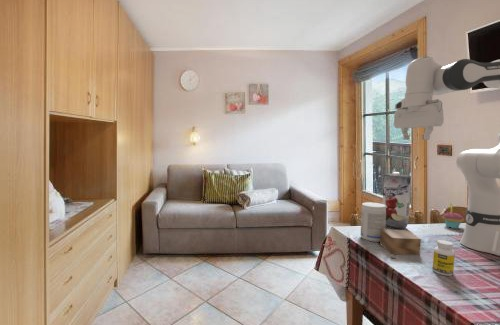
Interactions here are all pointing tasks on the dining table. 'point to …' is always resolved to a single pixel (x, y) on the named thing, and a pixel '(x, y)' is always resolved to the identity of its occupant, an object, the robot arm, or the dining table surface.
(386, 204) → the juice carton
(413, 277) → the dining table surface
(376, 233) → the supplement tub
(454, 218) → the cupcake
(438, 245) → the supplement bottle
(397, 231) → the walnut block
